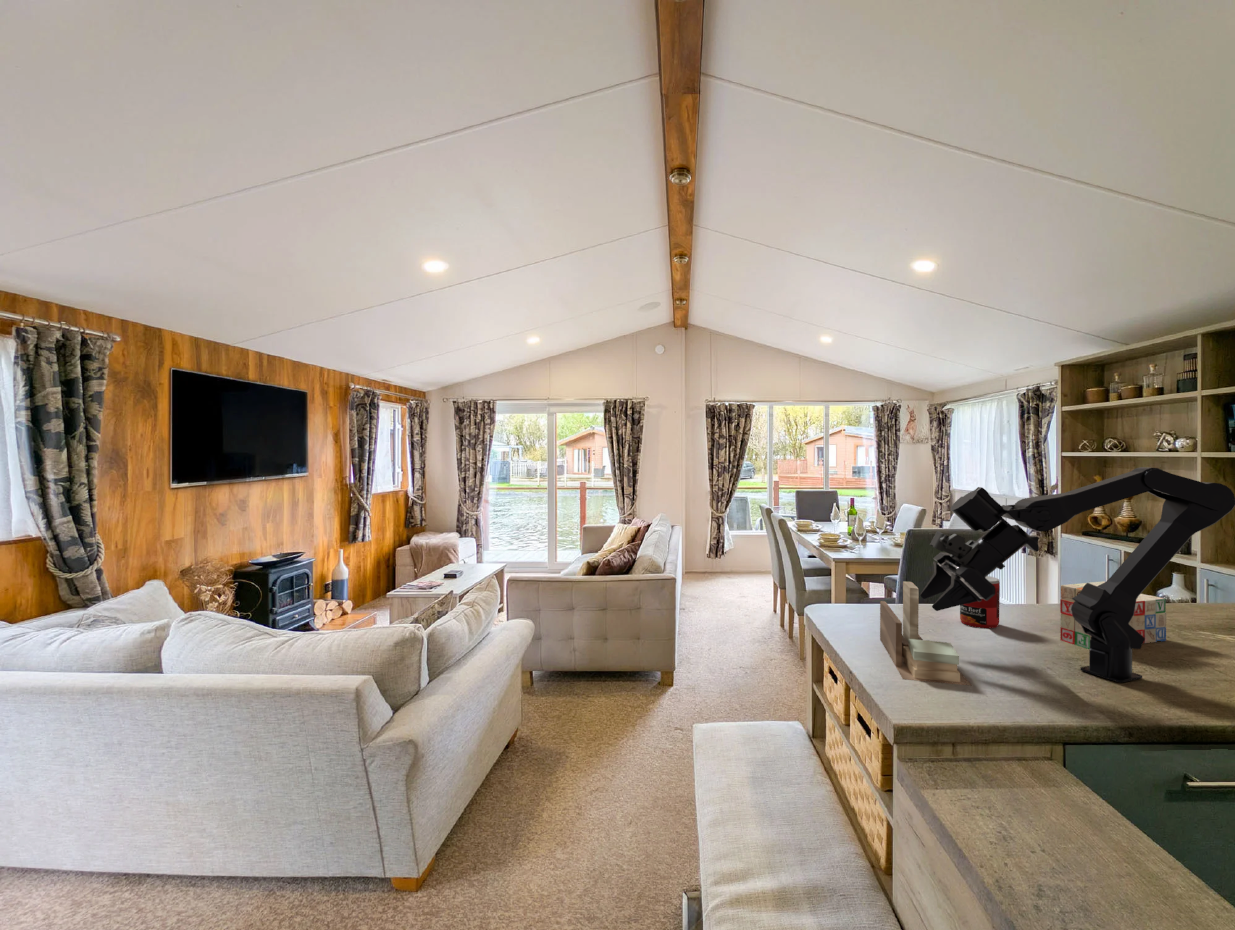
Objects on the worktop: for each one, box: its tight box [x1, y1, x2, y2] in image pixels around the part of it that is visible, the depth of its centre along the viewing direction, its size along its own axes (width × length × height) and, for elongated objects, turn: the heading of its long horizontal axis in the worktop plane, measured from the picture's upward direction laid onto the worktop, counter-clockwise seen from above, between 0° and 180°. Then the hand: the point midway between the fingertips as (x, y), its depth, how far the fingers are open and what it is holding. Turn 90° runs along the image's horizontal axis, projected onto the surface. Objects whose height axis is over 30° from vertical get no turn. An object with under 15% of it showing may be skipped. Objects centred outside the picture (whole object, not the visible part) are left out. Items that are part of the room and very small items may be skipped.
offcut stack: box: [902, 639, 960, 682], centre depth 101 cm, size 8×8×4 cm
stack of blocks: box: [1059, 581, 1167, 650], centre depth 122 cm, size 21×6×12 cm, turn 104°
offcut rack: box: [879, 600, 972, 687], centre depth 107 cm, size 10×22×10 cm, turn 165°
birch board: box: [902, 581, 920, 643], centre depth 112 cm, size 2×6×13 cm, turn 165°
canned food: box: [959, 575, 1001, 629], centre depth 135 cm, size 8×8×11 cm
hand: (927, 602), depth 111 cm, fingers open, 9 cm apart
